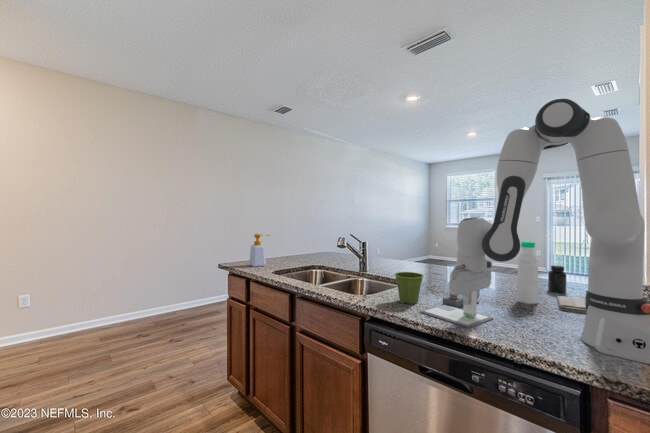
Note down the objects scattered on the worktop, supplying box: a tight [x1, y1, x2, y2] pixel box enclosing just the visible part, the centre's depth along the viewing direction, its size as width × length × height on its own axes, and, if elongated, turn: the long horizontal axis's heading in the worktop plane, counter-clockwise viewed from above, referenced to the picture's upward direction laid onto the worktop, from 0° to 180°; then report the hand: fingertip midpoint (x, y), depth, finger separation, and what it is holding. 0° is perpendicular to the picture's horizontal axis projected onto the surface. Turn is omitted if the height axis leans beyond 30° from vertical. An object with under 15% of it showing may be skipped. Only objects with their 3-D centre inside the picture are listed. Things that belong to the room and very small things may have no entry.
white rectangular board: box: [419, 304, 494, 329], centre depth 109 cm, size 19×15×1 cm
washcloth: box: [556, 295, 587, 315], centre depth 120 cm, size 12×18×3 cm, turn 147°
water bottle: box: [516, 240, 539, 305], centre depth 126 cm, size 7×7×25 cm
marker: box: [462, 290, 478, 317], centre depth 106 cm, size 3×3×10 cm
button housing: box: [442, 295, 463, 308], centre depth 122 cm, size 6×6×2 cm
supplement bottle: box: [547, 265, 567, 294], centre depth 144 cm, size 7×7×12 cm
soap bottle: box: [248, 233, 270, 268], centre depth 214 cm, size 10×14×22 cm
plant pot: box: [393, 271, 425, 305], centre depth 127 cm, size 12×12×11 cm
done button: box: [448, 291, 458, 300], centre depth 122 cm, size 4×4×4 cm
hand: (470, 303), depth 106 cm, fingers closed on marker, 3 cm apart
